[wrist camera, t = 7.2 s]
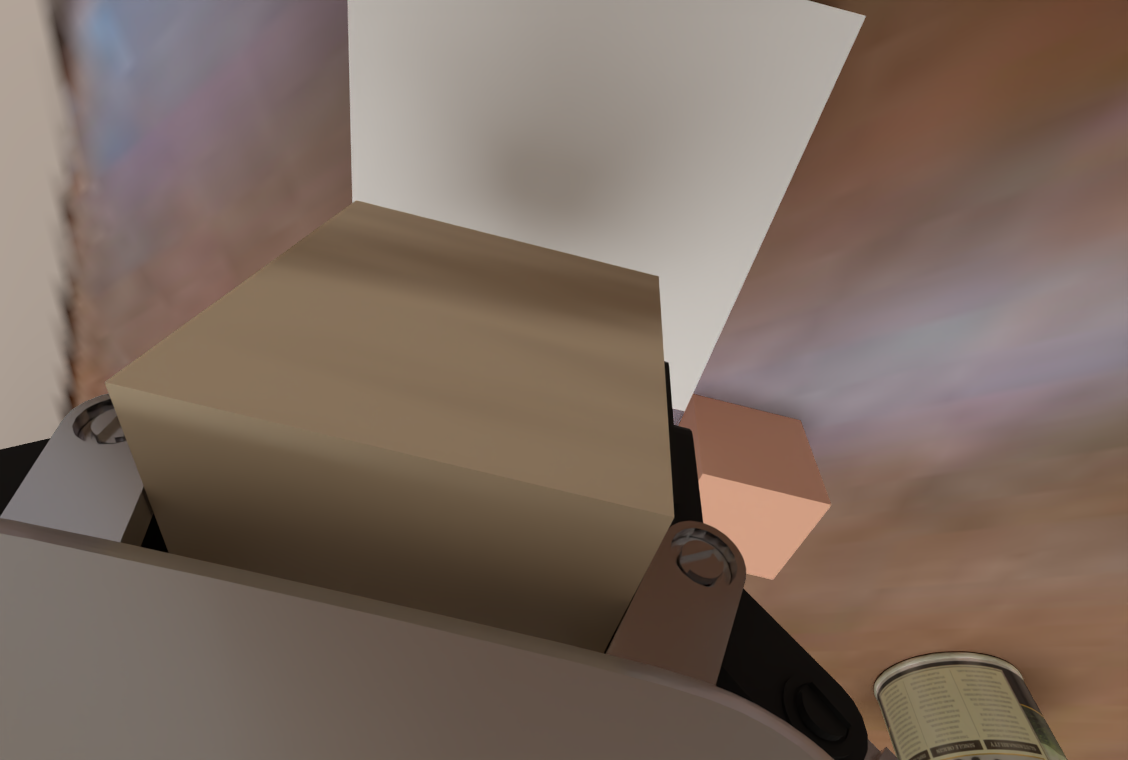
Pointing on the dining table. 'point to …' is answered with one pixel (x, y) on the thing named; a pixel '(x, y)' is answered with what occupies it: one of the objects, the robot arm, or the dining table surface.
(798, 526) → the terracotta cube
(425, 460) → the brass cube
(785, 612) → the dining table surface
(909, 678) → the coffee can
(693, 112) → the grey base board
